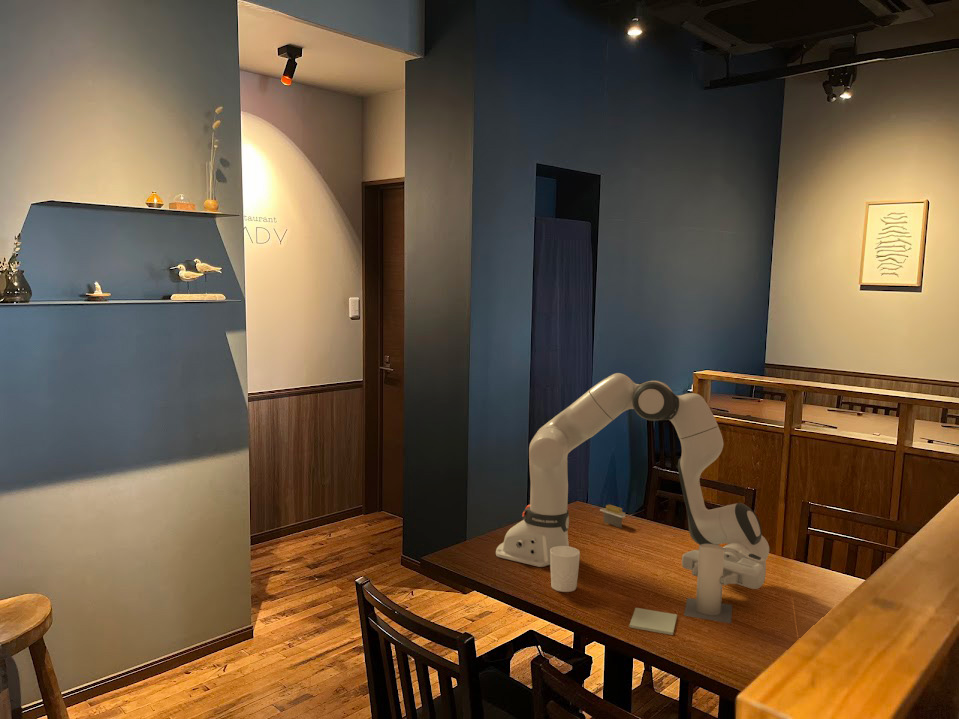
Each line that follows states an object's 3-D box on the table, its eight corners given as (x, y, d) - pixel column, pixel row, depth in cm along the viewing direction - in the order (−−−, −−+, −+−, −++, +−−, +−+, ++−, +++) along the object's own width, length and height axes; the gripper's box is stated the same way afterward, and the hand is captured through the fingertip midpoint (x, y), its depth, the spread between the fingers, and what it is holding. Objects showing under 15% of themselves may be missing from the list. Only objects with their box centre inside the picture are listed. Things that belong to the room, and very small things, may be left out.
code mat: (683, 616, 176) (683, 615, 176) (687, 598, 187) (687, 597, 187) (731, 624, 173) (731, 623, 173) (732, 605, 183) (732, 604, 183)
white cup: (561, 578, 198) (562, 543, 197) (584, 587, 192) (585, 551, 191) (543, 586, 193) (544, 550, 192) (566, 596, 187) (567, 558, 186)
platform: (605, 515, 255) (606, 498, 255) (646, 529, 242) (647, 510, 241) (582, 522, 248) (583, 503, 247) (623, 536, 234) (624, 517, 233)
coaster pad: (629, 628, 170) (629, 624, 170) (635, 610, 179) (635, 607, 179) (672, 635, 166) (673, 632, 166) (676, 617, 176) (677, 614, 175)
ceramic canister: (695, 612, 178) (698, 550, 176) (696, 603, 183) (699, 542, 182) (720, 617, 176) (723, 553, 174) (721, 607, 181) (724, 545, 180)
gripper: (696, 540, 195) (671, 553, 185) (771, 561, 181) (749, 576, 171) (695, 563, 196) (669, 577, 186) (770, 585, 182) (747, 601, 172)
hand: (708, 577), depth 178 cm, fingers closed on ceramic canister, 6 cm apart
